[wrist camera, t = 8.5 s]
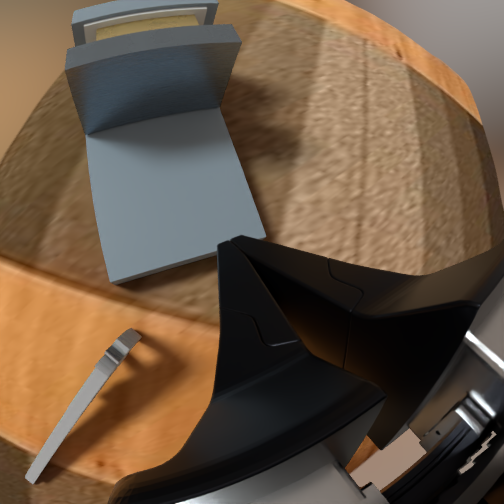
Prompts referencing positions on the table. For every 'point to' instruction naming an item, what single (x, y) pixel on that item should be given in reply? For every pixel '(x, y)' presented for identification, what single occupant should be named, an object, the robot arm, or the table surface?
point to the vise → (163, 169)
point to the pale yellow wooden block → (145, 25)
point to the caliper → (84, 399)
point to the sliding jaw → (150, 74)
